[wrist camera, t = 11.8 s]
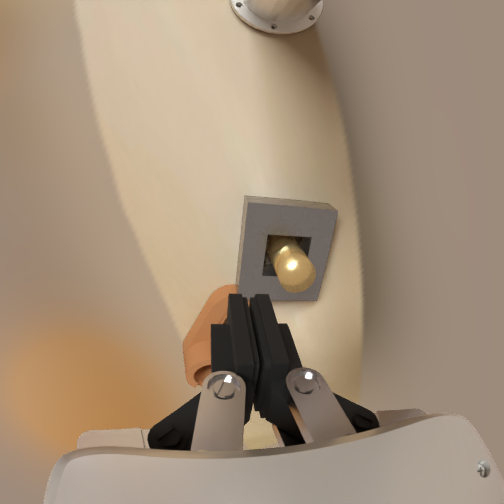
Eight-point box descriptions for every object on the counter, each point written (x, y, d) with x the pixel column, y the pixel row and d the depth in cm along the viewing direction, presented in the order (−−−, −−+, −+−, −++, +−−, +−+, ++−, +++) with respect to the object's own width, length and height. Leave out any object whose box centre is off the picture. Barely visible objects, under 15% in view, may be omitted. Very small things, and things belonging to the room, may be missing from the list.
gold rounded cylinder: (268, 230, 40) (283, 259, 32) (298, 232, 41) (319, 260, 33) (264, 259, 42) (277, 292, 34) (293, 260, 42) (311, 292, 34)
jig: (244, 195, 37) (247, 202, 34) (328, 203, 39) (338, 210, 36) (235, 286, 43) (237, 299, 40) (310, 288, 45) (317, 300, 42)
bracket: (216, 364, 51) (223, 393, 45) (175, 354, 47) (178, 384, 41) (267, 293, 45) (281, 321, 40) (221, 276, 42) (230, 306, 36)
